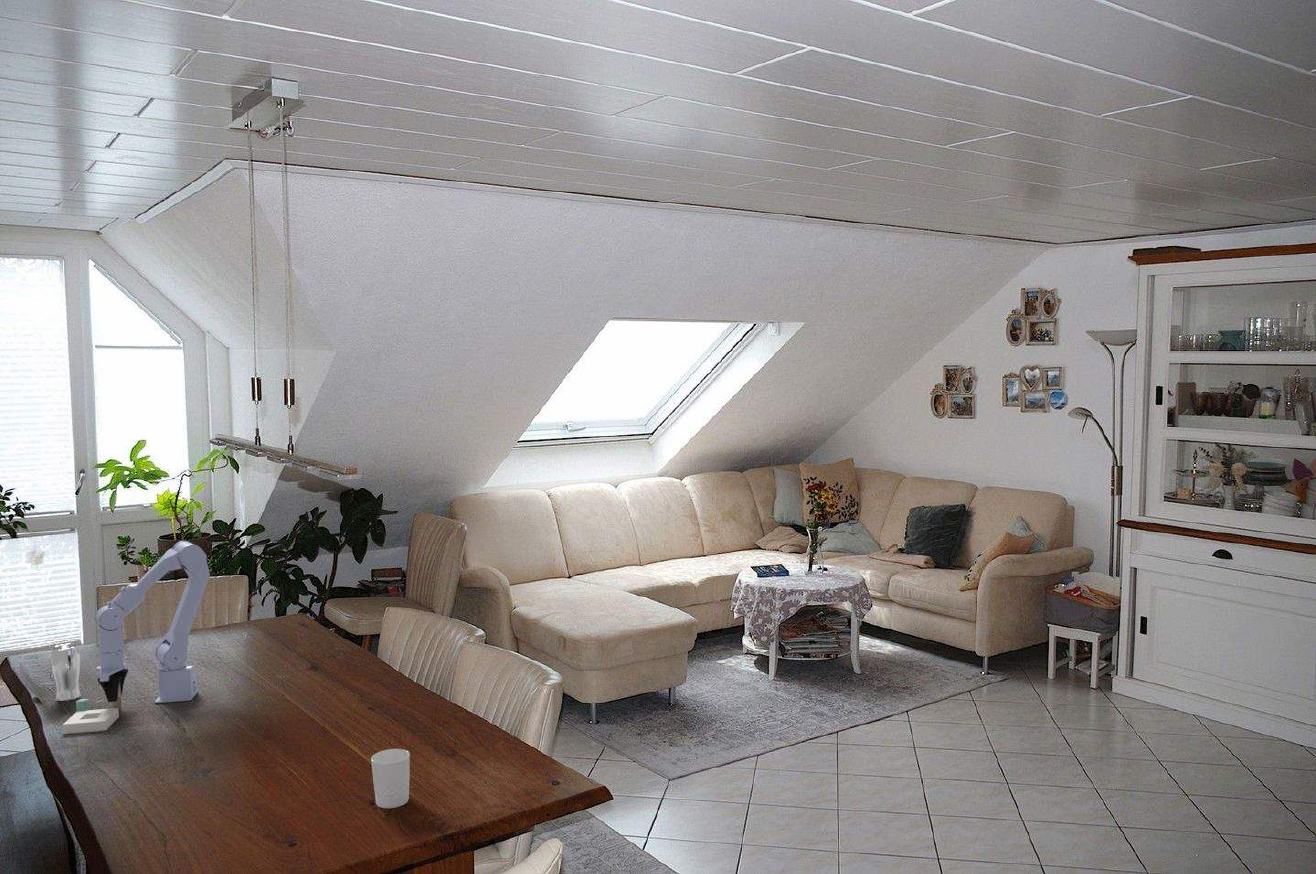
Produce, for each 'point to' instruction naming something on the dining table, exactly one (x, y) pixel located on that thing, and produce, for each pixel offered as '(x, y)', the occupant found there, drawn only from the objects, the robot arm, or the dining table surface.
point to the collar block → (90, 721)
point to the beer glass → (66, 671)
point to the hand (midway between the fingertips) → (114, 699)
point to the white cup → (391, 777)
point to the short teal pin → (82, 705)
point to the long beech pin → (117, 703)
